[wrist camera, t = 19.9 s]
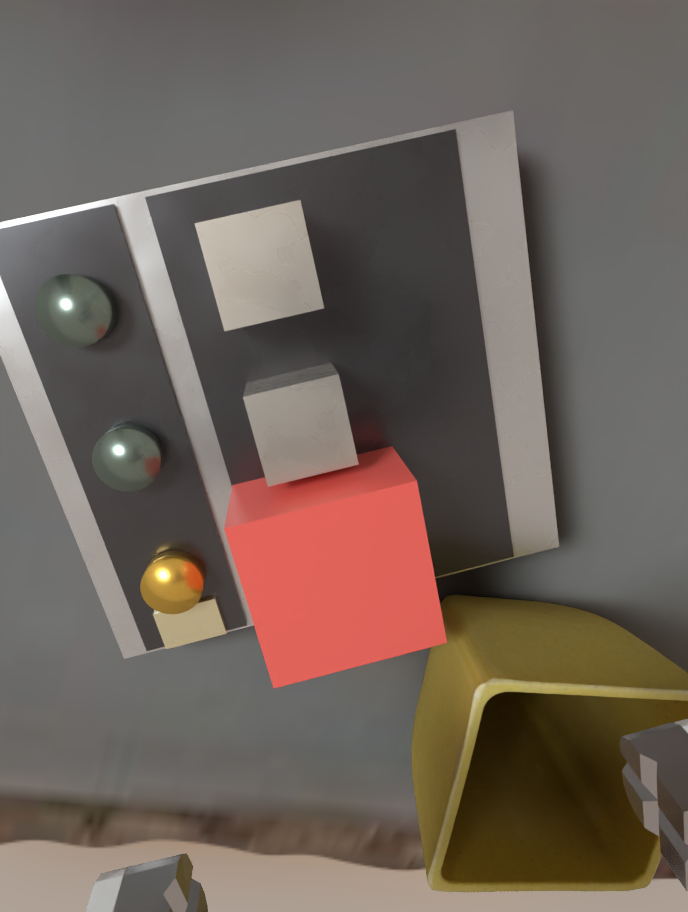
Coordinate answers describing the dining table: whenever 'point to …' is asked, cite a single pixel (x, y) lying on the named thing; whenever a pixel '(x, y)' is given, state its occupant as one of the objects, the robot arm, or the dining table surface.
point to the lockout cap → (336, 567)
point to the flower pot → (535, 748)
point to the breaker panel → (281, 360)
